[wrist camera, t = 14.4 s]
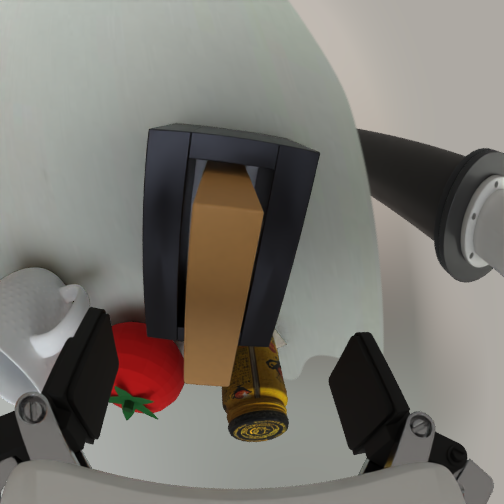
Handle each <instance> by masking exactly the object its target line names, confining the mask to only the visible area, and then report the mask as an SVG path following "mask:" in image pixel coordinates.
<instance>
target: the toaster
mask: <svg viewBox="0 0 504 504" xmlns="http://www.w3.org/2000/svg"><path fill="white" fill-rule="evenodd" d="M319 156H320V153H319V152H317V151H315V150H313V149H310V148H308V147H306V146H303V145H301V144H299V143H296V142H294V141H292V140H289V139H287V138H282V137H276V136H271V135H265V134H259V133H253V132H247V131H240V130H233V129H226V128H218V127H209V126H200V125H189V124H177V123H176V124H170V125H166V126H161V127H156V128H151V129H149V132H148V141H147V152H146V164H145V178H144V197H143V284H144V303H145V318H146V330H147V337H152V338H159V339H167V340H178V341H184V329H185V302H186V282H187V266H188V252H189V239H190V227H191V216H192V206H193V202H194V199H195V196H196V193H197V190H198V187H199V184H200V181H201V178H202V175H203V172H204V169H205V166H206V163H207V160H208V161H217V162H225V163H232V164H240V165H245V167H246V170H247V172H248V175H249V177H250V180H251V182H252V185H253V187H254V189H255V192H256V194H257V197H258V199H259V202H260V204H261V207H262V209H263V212H264V215H263V220H262V225H261V230H260V235H259V240H258V245H257V250H256V255H255V260H254V266H253V271H252V276H251V281H250V286H249V291H248V296H247V301H246V306H245V311H244V316H243V321H242V326H241V331H240V336H239V340H238V345H237V346H250V347H269V345H270V342H271V339H272V335H273V332H274V329H275V325H276V322H277V319H278V315H279V312H280V308H281V305H282V301H283V298H284V294H285V291H286V287H287V284H288V280H289V276H290V273H291V269H292V265H293V262H294V258H295V254H296V250H297V247H298V243H299V239H300V235H301V231H302V227H303V223H304V219H305V215H306V211H307V207H308V203H309V199H310V195H311V191H312V186H313V182H314V178H315V174H316V169H317V165H318V160H319Z"/></svg>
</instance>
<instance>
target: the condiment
mask: <svg viewBox="0 0 504 504" xmlns="http://www.w3.org/2000/svg"><path fill="white" fill-rule="evenodd" d="M284 345H287V344H286V342H285V341H284V340H283V339H282V338H281V336H280V335H279V334H278V332H277V331H276V330H275V329H274V332H273V335H272V339H271V342H270V345H269V347H250V346H237V350H236V355H235V360H234V365H233V370H232V375H231V380H230V385H229V386H228V387H225V386H222V401H223V402H222V403H223V408H224V410H225V412H226V413H227V420H228V423H229V426H228V430H229V432H230V434H231V436H233V437H234V438H236V439H238V440H242V441H247V442H260V441H266V440H270V439H273V438H276V437H278V436H280V435H282V434H283V433H284V432H285V431H287V429H288V424H289V422H288V418H287V414H286V412H287V410H286V405H287V401H288V398H287V391H286V388H285V384H284V381H283V376H282V371H281V366H280V362H279V357H278V352H277V349H278V348H280V347H282V346H284Z"/></svg>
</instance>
